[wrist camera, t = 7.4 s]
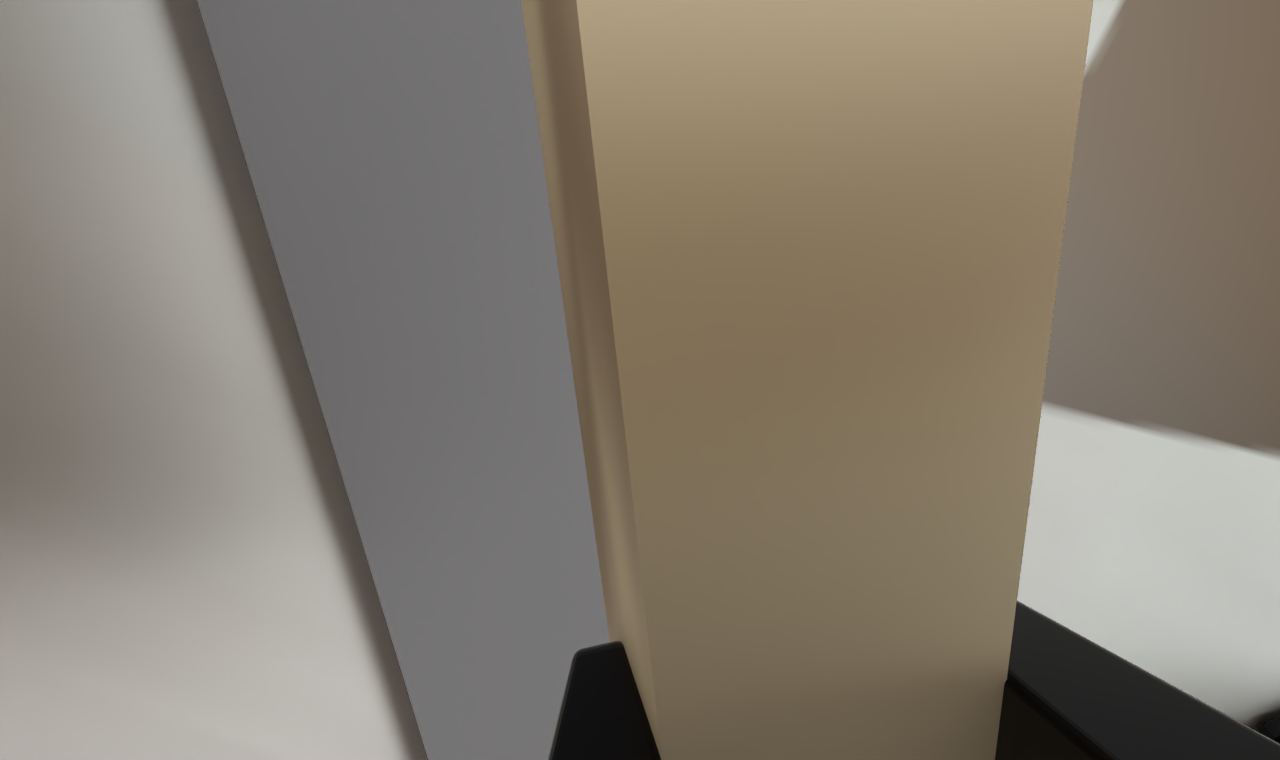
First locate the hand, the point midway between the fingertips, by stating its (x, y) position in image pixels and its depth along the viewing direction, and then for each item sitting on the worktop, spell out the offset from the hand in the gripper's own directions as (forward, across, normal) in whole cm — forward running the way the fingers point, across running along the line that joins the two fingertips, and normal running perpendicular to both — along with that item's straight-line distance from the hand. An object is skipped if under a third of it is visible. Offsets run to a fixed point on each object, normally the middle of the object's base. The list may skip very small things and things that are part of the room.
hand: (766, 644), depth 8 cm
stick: (+1, 0, -4) cm, 4 cm away
